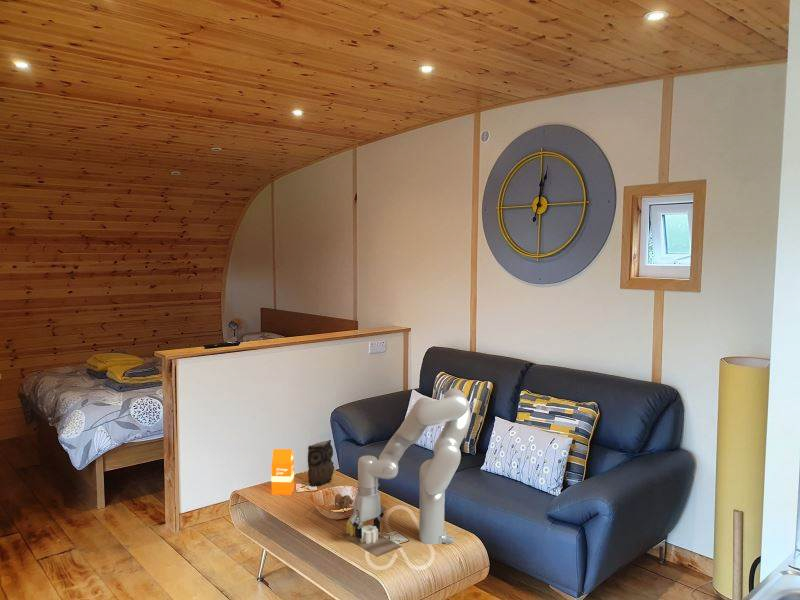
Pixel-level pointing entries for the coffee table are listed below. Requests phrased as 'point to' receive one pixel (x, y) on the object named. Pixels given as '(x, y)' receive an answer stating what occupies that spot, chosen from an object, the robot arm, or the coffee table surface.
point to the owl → (320, 463)
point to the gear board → (373, 544)
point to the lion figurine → (343, 501)
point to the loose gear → (369, 534)
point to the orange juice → (282, 472)
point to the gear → (352, 528)
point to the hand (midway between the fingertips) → (367, 533)
